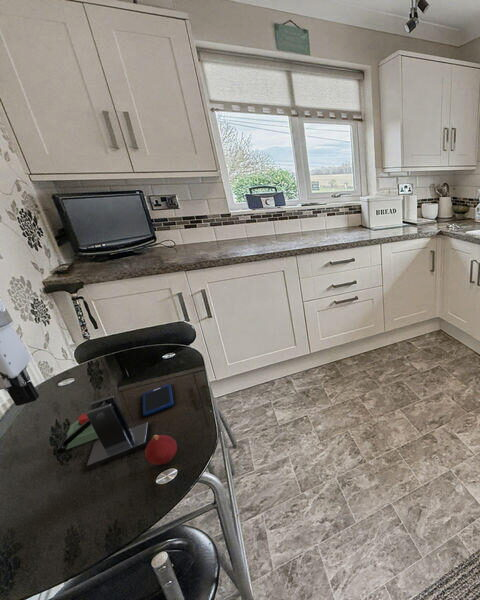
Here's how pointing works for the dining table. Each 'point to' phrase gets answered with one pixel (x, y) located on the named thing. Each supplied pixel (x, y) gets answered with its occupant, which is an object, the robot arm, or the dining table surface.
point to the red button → (82, 419)
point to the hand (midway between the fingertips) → (28, 401)
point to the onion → (160, 449)
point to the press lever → (75, 434)
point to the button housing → (81, 435)
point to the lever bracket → (113, 433)
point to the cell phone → (157, 400)
